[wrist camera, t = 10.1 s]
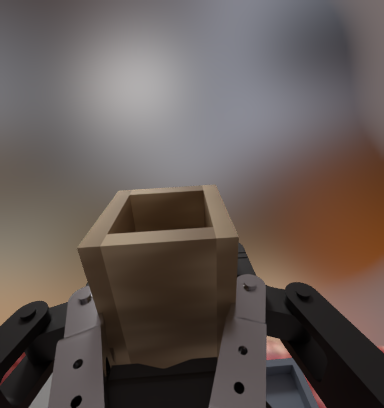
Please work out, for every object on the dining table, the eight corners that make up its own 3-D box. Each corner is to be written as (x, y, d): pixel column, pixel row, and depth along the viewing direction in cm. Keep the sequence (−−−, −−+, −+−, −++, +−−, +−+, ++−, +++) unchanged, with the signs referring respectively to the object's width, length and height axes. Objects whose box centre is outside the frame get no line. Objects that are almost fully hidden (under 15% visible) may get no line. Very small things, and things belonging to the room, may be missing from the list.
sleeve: (130, 417, 11) (77, 247, 7) (145, 324, 15) (118, 190, 11) (231, 408, 11) (238, 237, 7) (216, 319, 16) (215, 184, 11)
